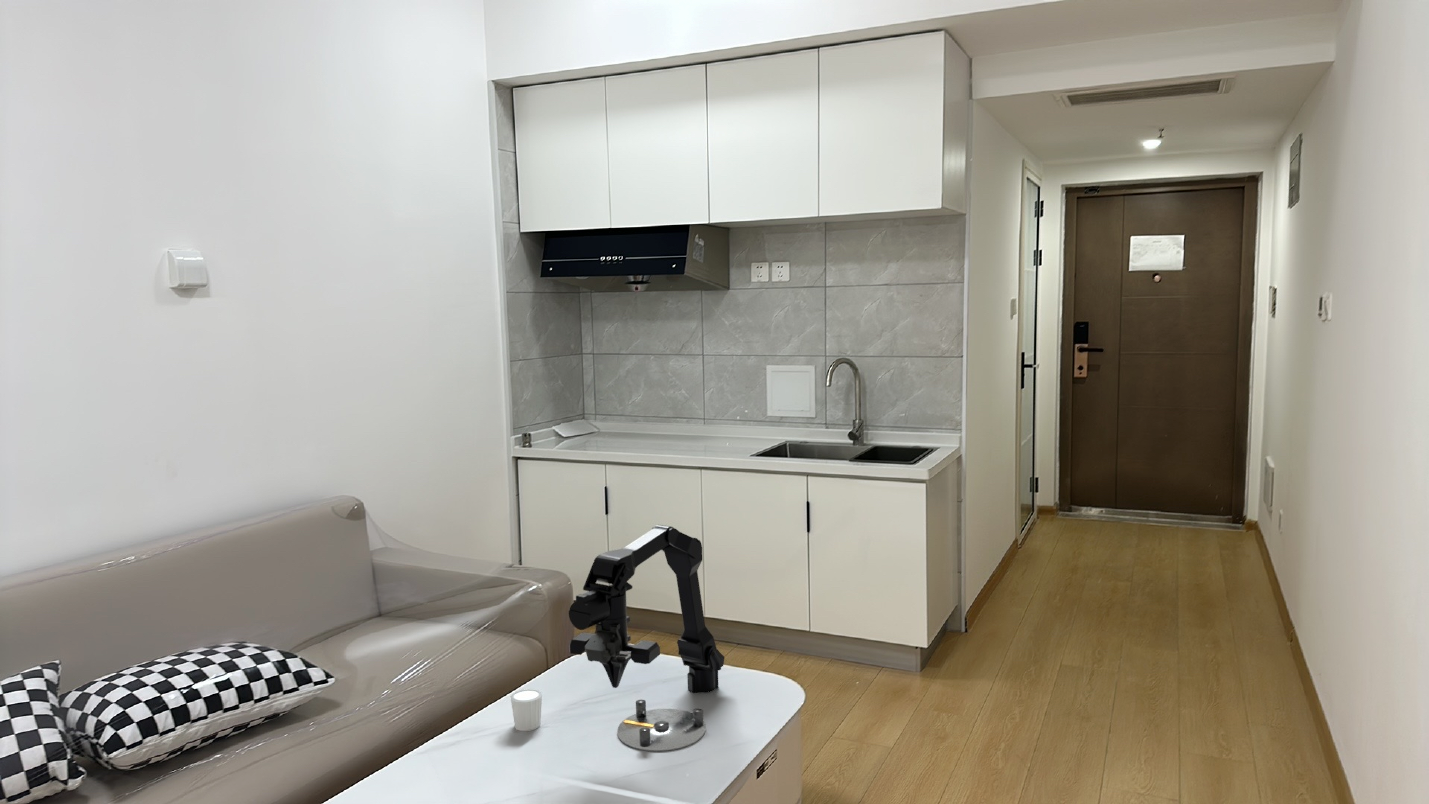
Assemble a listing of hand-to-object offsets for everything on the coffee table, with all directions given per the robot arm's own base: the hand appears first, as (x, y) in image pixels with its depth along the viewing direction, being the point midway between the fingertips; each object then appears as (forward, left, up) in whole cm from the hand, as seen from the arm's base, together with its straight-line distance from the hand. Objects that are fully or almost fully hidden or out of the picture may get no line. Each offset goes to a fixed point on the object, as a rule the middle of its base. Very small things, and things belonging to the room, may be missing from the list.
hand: (615, 687), depth 197 cm
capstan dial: (-10, 0, -12) cm, 16 cm away
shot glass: (+14, -19, -13) cm, 27 cm away
